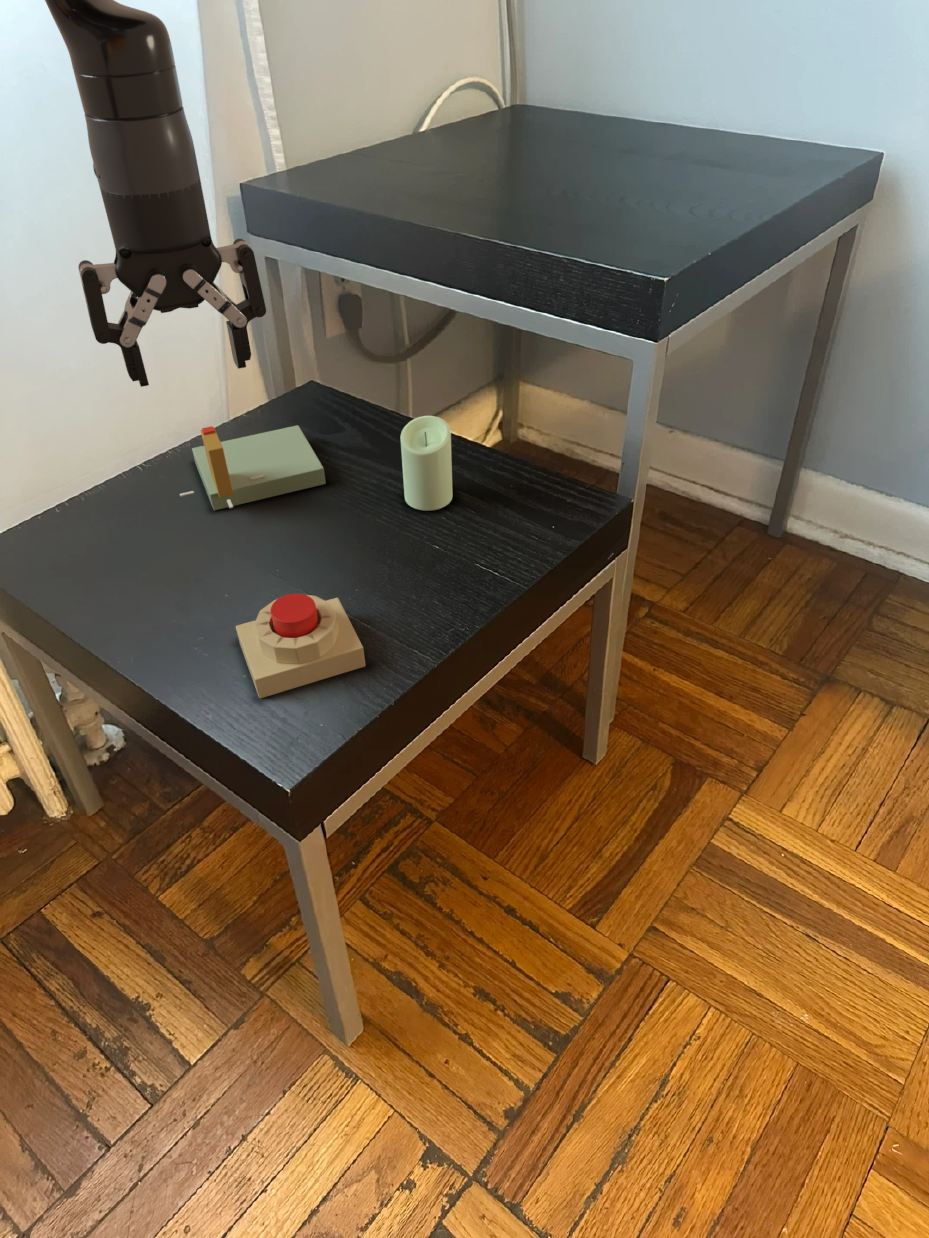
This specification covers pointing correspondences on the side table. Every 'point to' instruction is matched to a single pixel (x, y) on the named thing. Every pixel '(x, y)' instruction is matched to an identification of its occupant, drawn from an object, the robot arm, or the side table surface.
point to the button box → (300, 649)
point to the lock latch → (216, 462)
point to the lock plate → (262, 467)
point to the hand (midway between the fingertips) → (192, 373)
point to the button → (294, 615)
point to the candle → (427, 463)
